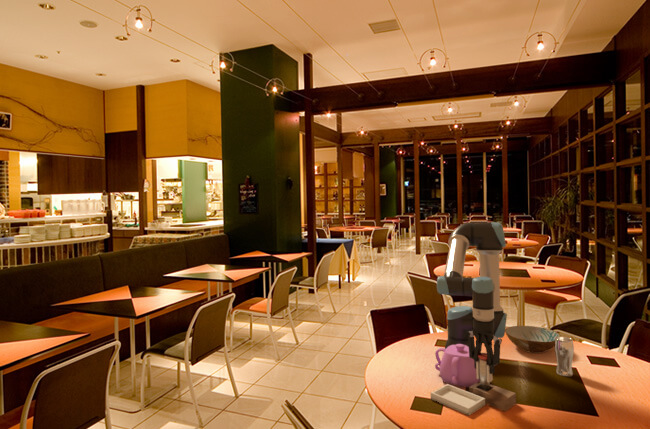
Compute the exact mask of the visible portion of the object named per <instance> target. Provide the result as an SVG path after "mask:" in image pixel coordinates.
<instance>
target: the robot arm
mask: <svg viewBox="0 0 650 429" xmlns="http://www.w3.org/2000/svg"><path fill="white" fill-rule="evenodd" d="M504 231H505V230H504V227H503V224H502V223H501V222H493V221H490V222H488V221H486V222H482V221H481V222H471V221H470V222H465V223H462V224H460V225H458V226H457V227H456V228H454V229H453V231H452V232H451V233H450V235H449V237H448V241H447V242H448V246H449V249H448V253H447V258H446V263H445V268H444V272H443V275H440V276H437V279H436V290H437V293H438V294H439V295H445V296H461V297H472V306H468V305H457V306H454V307H453V306H452V307H451V308H449V309H448V310H447V317H446V321H447V323H446V324H447V325H446V326H447V340H446V343H445V346H444V349H446V348H447V347H448V346H450V345H456V344H463V345H466V346H468V347H469V357H470V358H473V359H474V367H475V369H476V376H477V379H479V358H478V354H479V353H482V349H483V347H482V346H483V345H484V347H485V350H486V351H485V353H487V358H488V363H489V364H488V365H487V382H488V383H489V382H490V383H491V382H492V381H493V380H494V378H493V374H495V366H497V365H499V364H500V363H501V362H500V360H501V344H502V342H503V338H504V337H505V334H506V333H505V329H506V328H507V327H506V325H507V317H508V315H507V313H506V312H504V308H503V307H502V306H501V298H500V297H501V296H500V295H501V293H500V292H501V289H500V284H501V283H500V254H501V253H502V252H503V248H506V246H507V245H506V238H505V232H504ZM470 247H474V248H475V250H476V252H478V254H479V276H477V277H465V276H464V270H465V269H464V268H465V264H466V262H465V261H466V256H467V255H466V254H467V250H468V249H469V248H470ZM463 276H464V277H463ZM494 365H495V366H494Z"/></svg>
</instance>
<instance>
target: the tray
mask: <svg viewBox="0 0 650 429" xmlns="http://www.w3.org/2000/svg"><path fill="white" fill-rule="evenodd" d="M430 400H431V401H434V402H436V401H437V403H438V402H439V404H441V405H444V406H446V407H448V408H450V409H453V410H455V411H458V412H459V413H462V414H465V415H467V416H470V415H472V414H473V413H475V412H477V411H478V410H480V409H482V408H483V407H484V406H486V404H485V398H483V397H480V396H478V395H475V394H473V393H470V392H469V391H468V390H464V389H462V388H460V387H456V386H455V385H452V384H448V383H445V385H443V386H441V387H439V388H437V389H436V390H433V391H431V392H430Z"/></svg>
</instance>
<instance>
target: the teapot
mask: <svg viewBox="0 0 650 429" xmlns="http://www.w3.org/2000/svg"><path fill="white" fill-rule="evenodd" d="M439 352H443V355H442V357H441V358H440V355H439ZM434 354H435V359H436V361H437V362H436V364H435V366H434V368H435V370H437V371H438V372H439V376H440V379H441V381H443V383H445V382H446V383H445V384H448V383H449V385H452V384H453V385H452V386H457V385H458V386H459V387H462V388H469V387H470V386H472V385H474V384H476V383H477V382H479V379H477V376H476V369H475V367H474V359H473V358H470V357H469V347H468V346H466V345H463V344H456V345H450V346H448V347H447V348H446V349H445V347H439V348H437V349H436V350H435V353H434ZM495 366H496V365H494V367H495Z"/></svg>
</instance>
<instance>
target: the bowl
mask: <svg viewBox="0 0 650 429" xmlns="http://www.w3.org/2000/svg"><path fill="white" fill-rule="evenodd" d="M505 334H506V336H507V338H508V339H509V340H510V342H511V343H513V345H515V346H516V347H518V348H520V349H521V350H522V351H524V352H529V353H531V354H533V353H534V354H543V353H545V352H548V351H550V350H552V349H553V348H555V337H558V336H562V335H561V334H560V333H559V332H557V331H555V330H552V329H549V328H545V327H541V326H534V325H533V326H532V325H513V326H509V327H505Z"/></svg>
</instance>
